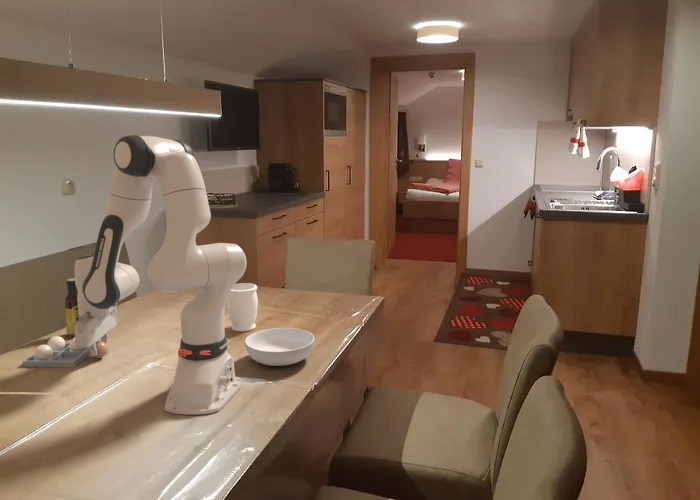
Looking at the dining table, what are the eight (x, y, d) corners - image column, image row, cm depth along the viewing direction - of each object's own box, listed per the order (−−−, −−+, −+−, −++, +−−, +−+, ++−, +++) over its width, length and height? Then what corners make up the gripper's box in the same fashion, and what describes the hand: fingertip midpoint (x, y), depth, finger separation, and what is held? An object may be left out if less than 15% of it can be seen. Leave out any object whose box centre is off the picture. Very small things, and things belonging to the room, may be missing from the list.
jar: (242, 335, 193) (240, 292, 190) (222, 328, 199) (220, 287, 196) (265, 326, 201) (263, 285, 198) (244, 320, 207) (243, 281, 204)
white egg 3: (83, 355, 174) (82, 339, 173) (67, 355, 175) (65, 339, 174) (91, 349, 179) (89, 334, 178) (75, 348, 179) (74, 333, 178)
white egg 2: (60, 355, 175) (59, 339, 174) (44, 354, 175) (43, 339, 174) (69, 348, 180) (67, 333, 178) (53, 348, 180) (51, 333, 179)
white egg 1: (48, 364, 168) (46, 348, 167) (31, 364, 168) (29, 348, 167) (57, 357, 173) (55, 342, 172) (41, 357, 173) (39, 342, 172)
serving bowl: (323, 350, 179) (323, 330, 178) (300, 378, 160) (300, 355, 158) (263, 344, 185) (262, 324, 184) (233, 369, 165) (232, 347, 164)
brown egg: (104, 360, 169) (102, 344, 168) (87, 360, 170) (86, 344, 169) (111, 354, 174) (110, 338, 173) (95, 354, 174) (93, 338, 173)
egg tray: (74, 368, 166) (73, 361, 166) (23, 368, 167) (22, 361, 166) (98, 349, 181) (98, 342, 180) (51, 348, 181) (51, 342, 181)
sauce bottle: (80, 340, 188) (74, 282, 184) (63, 339, 189) (57, 281, 185) (92, 333, 194) (87, 277, 190) (76, 332, 196) (70, 276, 192)
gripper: (88, 318, 159) (93, 364, 161) (119, 297, 179) (123, 339, 181) (66, 318, 159) (71, 365, 161) (99, 297, 179) (103, 339, 182)
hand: (99, 351), depth 172 cm, fingers closed on brown egg, 5 cm apart
